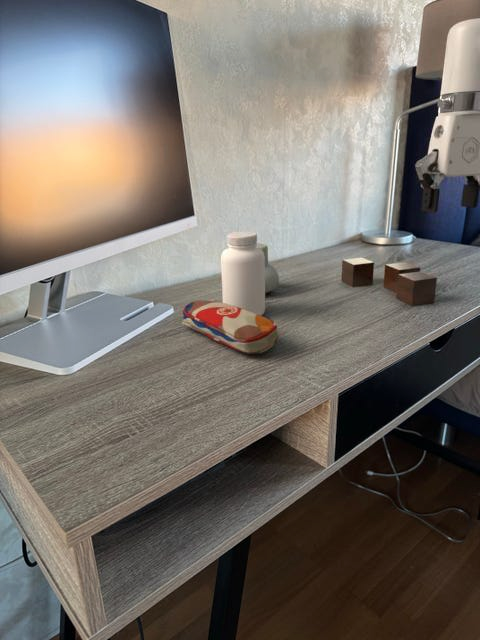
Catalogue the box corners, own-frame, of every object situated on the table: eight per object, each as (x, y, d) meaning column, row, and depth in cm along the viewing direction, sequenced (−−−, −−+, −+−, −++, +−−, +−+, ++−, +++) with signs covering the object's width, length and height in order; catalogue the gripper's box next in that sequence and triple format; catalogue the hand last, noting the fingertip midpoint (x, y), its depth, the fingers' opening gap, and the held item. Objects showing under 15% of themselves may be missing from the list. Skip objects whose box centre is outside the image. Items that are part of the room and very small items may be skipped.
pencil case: (219, 369, 63) (217, 336, 61) (177, 324, 80) (175, 298, 78) (286, 352, 67) (286, 321, 66) (233, 313, 84) (232, 288, 82)
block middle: (403, 284, 97) (405, 262, 95) (418, 290, 92) (420, 267, 91) (383, 287, 96) (385, 264, 94) (397, 293, 91) (399, 270, 89)
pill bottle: (258, 322, 79) (255, 238, 74) (216, 318, 82) (211, 237, 77) (270, 307, 86) (269, 230, 81) (232, 304, 89) (228, 229, 83)
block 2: (417, 295, 90) (420, 271, 88) (434, 302, 85) (437, 277, 83) (395, 298, 88) (398, 274, 87) (411, 306, 84) (414, 280, 82)
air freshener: (229, 287, 100) (227, 243, 96) (263, 282, 102) (262, 239, 99) (245, 301, 90) (243, 253, 87) (282, 296, 93) (282, 248, 89)
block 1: (360, 278, 102) (362, 257, 100) (372, 284, 98) (374, 262, 96) (341, 281, 101) (342, 259, 99) (352, 287, 96) (353, 264, 95)
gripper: (442, 104, 69) (428, 215, 75) (518, 104, 75) (500, 207, 82) (407, 108, 76) (397, 211, 82) (480, 108, 82) (466, 203, 88)
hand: (449, 209), depth 82 cm, fingers open, 9 cm apart
